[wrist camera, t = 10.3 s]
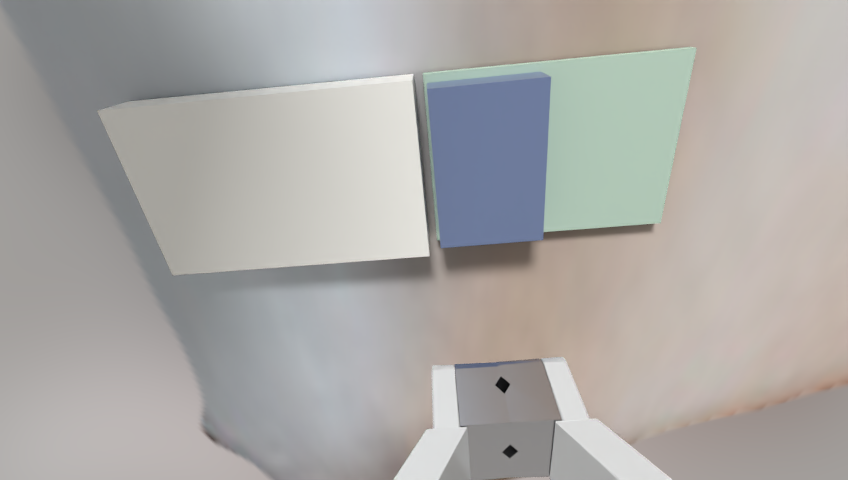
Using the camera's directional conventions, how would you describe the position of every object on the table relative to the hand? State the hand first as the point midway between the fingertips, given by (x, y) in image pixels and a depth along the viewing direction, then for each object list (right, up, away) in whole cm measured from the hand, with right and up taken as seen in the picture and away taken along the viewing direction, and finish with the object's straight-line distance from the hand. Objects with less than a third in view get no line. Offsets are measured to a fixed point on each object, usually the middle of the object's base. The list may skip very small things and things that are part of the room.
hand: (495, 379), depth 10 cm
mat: (+6, +8, +15) cm, 18 cm away
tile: (+2, +8, +14) cm, 17 cm away
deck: (-10, +7, +16) cm, 20 cm away
